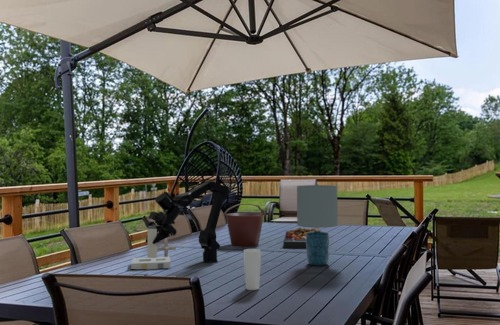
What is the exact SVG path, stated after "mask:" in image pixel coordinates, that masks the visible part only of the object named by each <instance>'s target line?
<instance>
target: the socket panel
mask: <svg viewBox="0 0 500 325" xmlns="http://www.w3.org/2000/svg"><path fill="white" fill-rule="evenodd" d="M158 268H168V269H171V256H168V257H164V256H157V258H148V257H132V260H131V263H130V270H131V269H146V270H159V269H158Z"/></svg>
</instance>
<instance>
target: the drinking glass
mask: <svg viewBox="0 0 500 325" xmlns="http://www.w3.org/2000/svg"><path fill="white" fill-rule="evenodd" d="M242 258H243V270H244V280H245V281H244V282H245V290H247V291H258V290H259V289H260V278H261V277H260V276H261V264H262V251H261V249H259V248H246V249H243V257H242Z"/></svg>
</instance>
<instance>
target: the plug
mask: <svg viewBox="0 0 500 325" xmlns="http://www.w3.org/2000/svg"><path fill="white" fill-rule="evenodd" d="M146 233H147V235H148V243H147V258H157V257H158V251H157V247H158V242H157V243H156V244H153V243H152V242H153V241H154V239H155V237H156V236H157V233H158V232H157V228H156V226H148V228H147V232H146Z"/></svg>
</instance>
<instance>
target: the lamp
mask: <svg viewBox="0 0 500 325" xmlns="http://www.w3.org/2000/svg"><path fill="white" fill-rule="evenodd" d="M296 214H297V215H296V223H297V224H296V225H297V226H298V227H300V228H311V229H313V228H314V229H315V231H311V230H310V231H311V232H307V233H306V248H305V249H306V250H305V251H306V252H305V254H306V262H307V263H308V265H310V266H315V267H316V266H317V267H322V266H323V267H324V266H326V265H328V263H329V258H330V233H329V232H327V231H323V230H321V228H326V229H327V228H335V227H337V226H338V225H339V224H338V223H339V221H338V185H333V184H332V185H331V184H330V185H329V184H327V185H326V184H323V185H321V184H319V185H318V184H317V185H316V184H315V185H313V184H311V185H310V184H307V185H297V186H296Z"/></svg>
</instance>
